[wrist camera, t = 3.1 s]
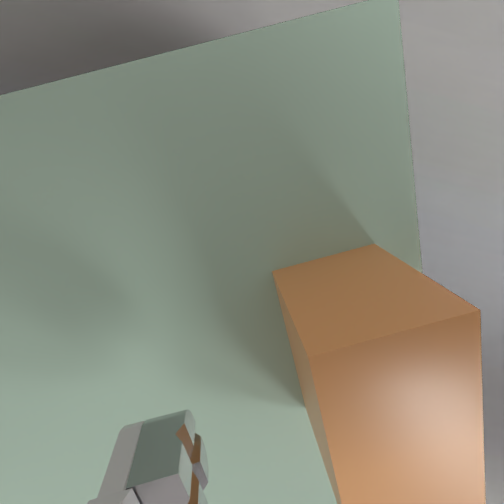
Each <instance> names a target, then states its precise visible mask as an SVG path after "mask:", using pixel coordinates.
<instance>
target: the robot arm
mask: <svg viewBox="0 0 504 504" xmlns="http://www.w3.org/2000/svg"><path fill="white" fill-rule="evenodd" d="M207 484H208V460H207V453H206V449H205V445H204V442H203V440H202V437H201V436H200V435H198V434H196V433H195V420H194V417H193V415H192V413H191V411H190V410H188V409H187V410H183V411H179V412H175V413H171V414H167V415H163V416H159V417H155V418H151V419H147V420H145V421H141V422H137V423H133V424H129V425H125V426H124V427H123V428H122V429H121V430H120V432H119V434H118V437H117V440H116V443H115V446H114V449H113V452H112V455H111V458H110V461H109V464H108V467H107V470H106V473H105V476H104V478H103V481H102V484H101V487H100V490H99V493H98V496H97V498H95V499H92V500H89V502H88V503H87V504H208V502H207V499H206V497H205V494H204V492H203V490H204V489H205V487H206V485H207Z"/></svg>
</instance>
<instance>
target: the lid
mask: <svg viewBox="0 0 504 504" xmlns="http://www.w3.org/2000/svg"><path fill="white" fill-rule="evenodd" d="M187 409H188V410H190V411H191V413H192V415H193V417H194V420H195V433H196V434H198V435H200V436H201V437H202V440H203V442H204V445H205V449H206V453H207V460H208V484H207V485H206V487H205V489H204V490H203V492H204V494H205V497H206V499H207V502H208V504H486V502H485V466H484V429H483V392H482V355H481V318H480V309H478V308H476V307H475V306H473V305H472V304H470V303H468V302H467V301H465V300H464V299H462V298H461V297H459V296H457V295H456V294H454V293H453V292H451V291H449V290H448V289H446V288H445V287H443V286H441V285H440V284H438V283H437V282H435V281H433V280H432V279H430V278H429V277H427V276H425V275H424V274H422V263H421V252H420V240H419V229H418V218H417V206H416V195H415V183H414V172H413V160H412V149H411V138H410V126H409V115H408V103H407V92H406V81H405V69H404V58H403V46H402V35H401V23H400V12H399V1H398V0H367V1H363V2H360V3H356V4H352V5H348V6H344V7H340V8H336V9H332V10H329V11H325V12H321V13H317V14H313V15H309V16H305V17H301V18H298V19H294V20H290V21H286V22H282V23H278V24H274V25H270V26H267V27H263V28H259V29H255V30H251V31H247V32H243V33H239V34H236V35H232V36H228V37H224V38H220V39H216V40H212V41H208V42H205V43H201V44H197V45H193V46H189V47H185V48H181V49H177V50H174V51H170V52H166V53H162V54H158V55H154V56H150V57H146V58H143V59H139V60H135V61H131V62H127V63H123V64H119V65H115V66H112V67H108V68H104V69H100V70H96V71H92V72H88V73H84V74H81V75H77V76H73V77H69V78H65V79H61V80H57V81H53V82H49V83H46V84H42V85H38V86H34V87H30V88H26V89H22V90H18V91H15V92H11V93H7V94H3V95H0V504H87V503H88V502H89V500H92V499H95V498H97V496H98V493H99V490H100V487H101V484H102V481H103V478H104V476H105V473H106V470H107V467H108V464H109V461H110V458H111V455H112V452H113V449H114V446H115V443H116V440H117V437H118V434H119V432H120V430H121V429H122V428H123V427H124V426H125V425H129V424H133V423H137V422H141V421H145V420H147V419H151V418H155V417H159V416H163V415H167V414H171V413H175V412H179V411H183V410H187Z"/></svg>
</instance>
